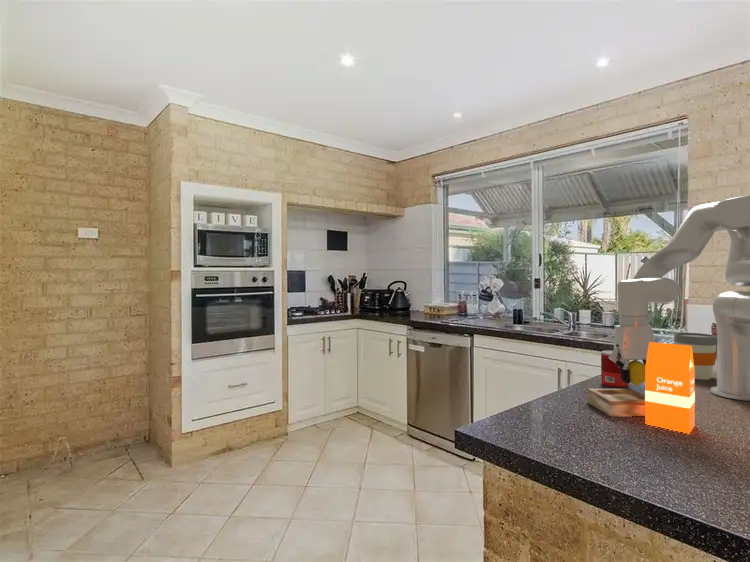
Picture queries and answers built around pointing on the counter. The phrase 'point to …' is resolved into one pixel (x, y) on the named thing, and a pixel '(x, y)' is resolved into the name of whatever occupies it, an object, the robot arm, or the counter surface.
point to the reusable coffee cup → (700, 351)
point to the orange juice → (670, 387)
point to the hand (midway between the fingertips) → (636, 381)
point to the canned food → (610, 371)
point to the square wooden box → (617, 401)
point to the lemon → (636, 372)
